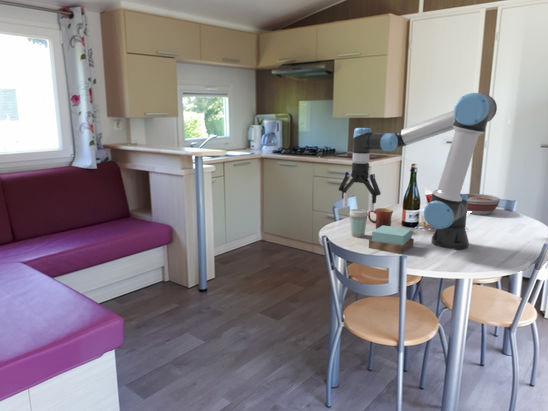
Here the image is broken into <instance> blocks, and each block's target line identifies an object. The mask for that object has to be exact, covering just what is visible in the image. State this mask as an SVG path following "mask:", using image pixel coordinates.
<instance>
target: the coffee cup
mask: <svg viewBox="0 0 548 411" xmlns="http://www.w3.org/2000/svg"><path fill="white" fill-rule="evenodd" d="M349 220H350V222H349V223H350V234H351V237H354V238H364V237H365V231H366V226H367V220H368V210H366V209H360V208H358V209H357V208H355V209H350V212H349Z"/></svg>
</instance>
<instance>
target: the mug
mask: <svg viewBox="0 0 548 411" xmlns="http://www.w3.org/2000/svg"><path fill="white" fill-rule="evenodd" d="M367 213H368V216H367V219H368V220H369V221H370V222H371V223H373V224H375V230H376V229H377V228H379V227H381V226H382V225H383V226H391V227H392V216H393V213H394V209H391V208H388V207H387V208H385V207H381V208H379V207H378V208H374V210H372V211H370V210H369V211H367ZM371 213H374V214H375V220H373V219H372V218H371Z"/></svg>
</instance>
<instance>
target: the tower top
mask: <svg viewBox="0 0 548 411" xmlns="http://www.w3.org/2000/svg"><path fill="white" fill-rule="evenodd" d="M371 233H372V234H371V239H372V241H376V242H383V243H389V244H396V245H402V246H403V245H404V244H405V243H406V242H408V241H409V240H410V239H411V238H412V236H413V229H412V228H405V227H397V226H392V225H391V226H383V225H382V226H381V227H379V228H377V229H376V228H375V229H374V230H372V232H371Z"/></svg>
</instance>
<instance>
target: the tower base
mask: <svg viewBox="0 0 548 411" xmlns="http://www.w3.org/2000/svg"><path fill="white" fill-rule="evenodd" d="M414 240H415V238H412V237H411V239H410V240H409V241H408V242H406V243H405V244H404V245H403V246H402V245H396V244H389V243H383V242H376V241H372V238H371V239H369V240H368V249H372V250H378V251H381V252H382V251H383V252H387V253H393V254H398V255H402V254H403V253H405V252H406V251H409V250H410V249H412V248H414Z"/></svg>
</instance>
